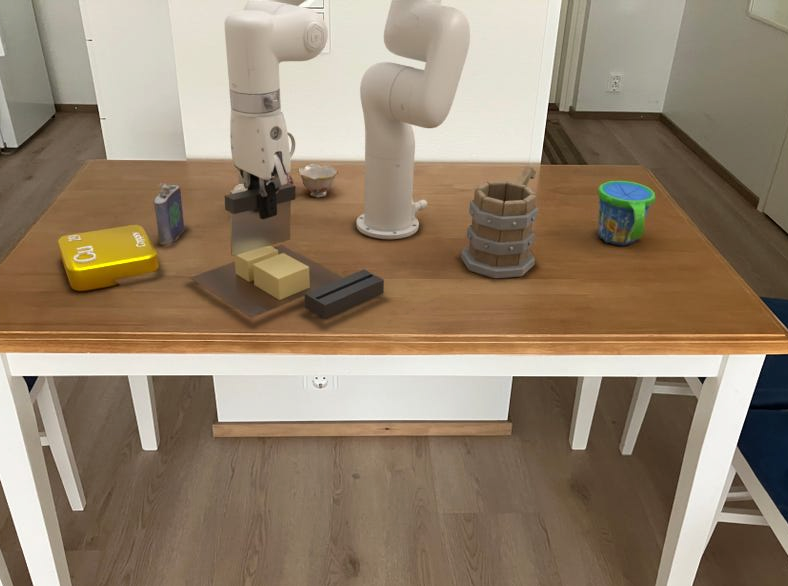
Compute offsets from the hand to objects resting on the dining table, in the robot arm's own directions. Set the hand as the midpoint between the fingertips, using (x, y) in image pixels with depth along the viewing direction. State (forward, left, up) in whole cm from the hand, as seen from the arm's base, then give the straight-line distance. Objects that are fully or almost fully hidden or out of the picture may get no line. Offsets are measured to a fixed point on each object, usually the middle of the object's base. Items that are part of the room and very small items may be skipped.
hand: (262, 213), depth 128 cm
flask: (+2, -28, -14) cm, 31 cm away
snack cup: (-64, +30, -14) cm, 72 cm away
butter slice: (0, -3, -12) cm, 12 cm away
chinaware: (-25, -30, -14) cm, 41 cm away
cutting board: (0, 0, -13) cm, 13 cm away
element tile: (+17, -24, -14) cm, 32 cm away
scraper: (+1, 0, -6) cm, 6 cm away
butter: (0, +4, -12) cm, 13 cm away
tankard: (-41, +20, -14) cm, 48 cm away
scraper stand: (-5, +15, -14) cm, 21 cm away
